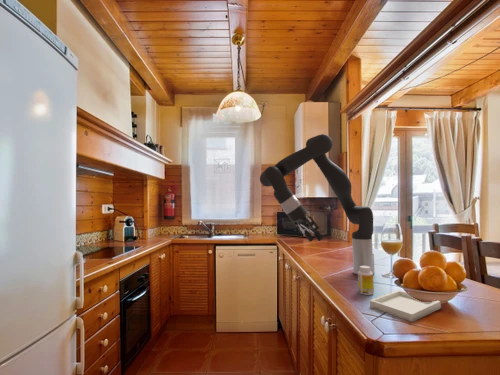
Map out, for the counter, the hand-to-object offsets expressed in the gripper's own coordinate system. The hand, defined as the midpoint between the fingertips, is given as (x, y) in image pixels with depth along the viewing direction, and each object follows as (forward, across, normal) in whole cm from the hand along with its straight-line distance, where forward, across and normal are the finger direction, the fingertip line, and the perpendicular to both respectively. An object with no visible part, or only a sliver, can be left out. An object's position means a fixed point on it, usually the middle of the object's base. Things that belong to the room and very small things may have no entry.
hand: (316, 240), depth 111 cm
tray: (+31, -21, -3) cm, 37 cm away
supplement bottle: (+27, -5, -2) cm, 28 cm away
